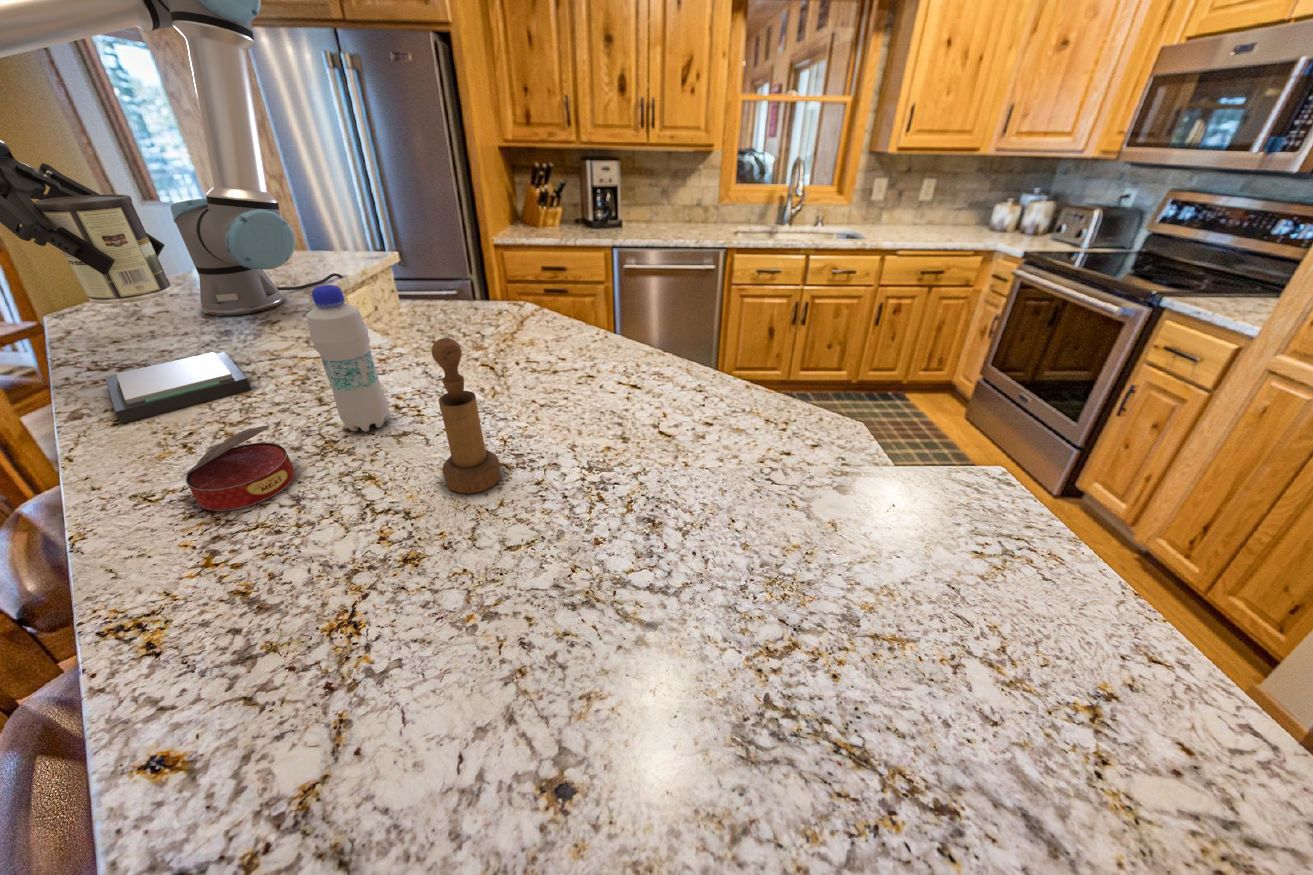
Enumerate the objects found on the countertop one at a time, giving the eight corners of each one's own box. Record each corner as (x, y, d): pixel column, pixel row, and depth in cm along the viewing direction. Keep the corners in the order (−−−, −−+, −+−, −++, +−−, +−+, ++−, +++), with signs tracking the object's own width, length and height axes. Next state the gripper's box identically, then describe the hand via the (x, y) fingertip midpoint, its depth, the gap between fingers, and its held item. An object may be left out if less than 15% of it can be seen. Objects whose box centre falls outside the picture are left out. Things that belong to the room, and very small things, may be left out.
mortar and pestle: (511, 469, 67) (489, 333, 58) (481, 499, 62) (450, 355, 52) (467, 459, 69) (438, 326, 59) (434, 487, 64) (396, 346, 54)
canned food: (234, 543, 62) (144, 501, 54) (234, 491, 68) (154, 447, 61) (317, 482, 63) (240, 433, 56) (309, 437, 70) (240, 388, 63)
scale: (229, 361, 96) (222, 347, 94) (251, 389, 86) (245, 373, 85) (111, 389, 86) (102, 373, 84) (122, 424, 76) (111, 406, 75)
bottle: (403, 418, 78) (366, 282, 68) (365, 440, 73) (317, 295, 62) (371, 409, 80) (330, 276, 70) (331, 429, 75) (280, 288, 65)
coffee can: (133, 284, 89) (88, 193, 82) (189, 287, 88) (148, 194, 81) (68, 302, 80) (11, 202, 73) (130, 305, 79) (78, 204, 72)
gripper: (17, 158, 83) (173, 260, 92) (-155, 170, 63) (65, 297, 73) (35, 119, 80) (193, 227, 90) (-138, 119, 61) (87, 257, 71)
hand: (136, 259), depth 82 cm, fingers closed on coffee can, 10 cm apart
